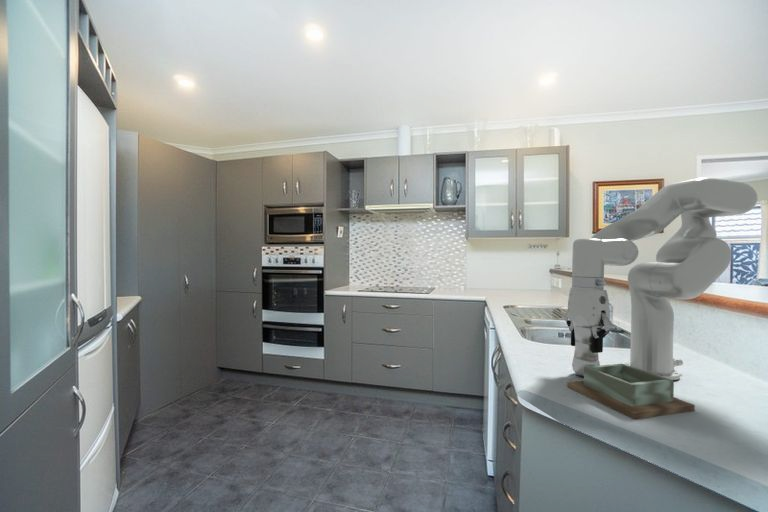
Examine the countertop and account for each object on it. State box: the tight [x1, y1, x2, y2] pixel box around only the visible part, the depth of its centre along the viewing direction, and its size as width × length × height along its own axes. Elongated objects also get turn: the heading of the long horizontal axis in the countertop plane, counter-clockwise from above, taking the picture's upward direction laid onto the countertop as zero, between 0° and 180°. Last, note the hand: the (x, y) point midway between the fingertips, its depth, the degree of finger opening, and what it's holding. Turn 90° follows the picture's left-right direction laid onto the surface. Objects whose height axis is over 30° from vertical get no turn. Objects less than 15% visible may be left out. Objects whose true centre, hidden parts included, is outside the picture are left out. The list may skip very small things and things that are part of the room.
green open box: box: [566, 363, 696, 420], centre depth 78 cm, size 17×17×6 cm
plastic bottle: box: [571, 315, 601, 377], centre depth 92 cm, size 6×7×20 cm
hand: (586, 348), depth 93 cm, fingers closed on plastic bottle, 6 cm apart
